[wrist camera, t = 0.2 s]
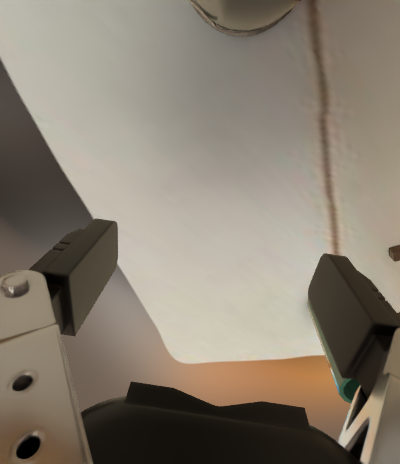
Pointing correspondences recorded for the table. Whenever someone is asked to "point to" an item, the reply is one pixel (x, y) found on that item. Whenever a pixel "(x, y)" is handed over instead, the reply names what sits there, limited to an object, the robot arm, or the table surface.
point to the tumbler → (343, 385)
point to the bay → (395, 256)
